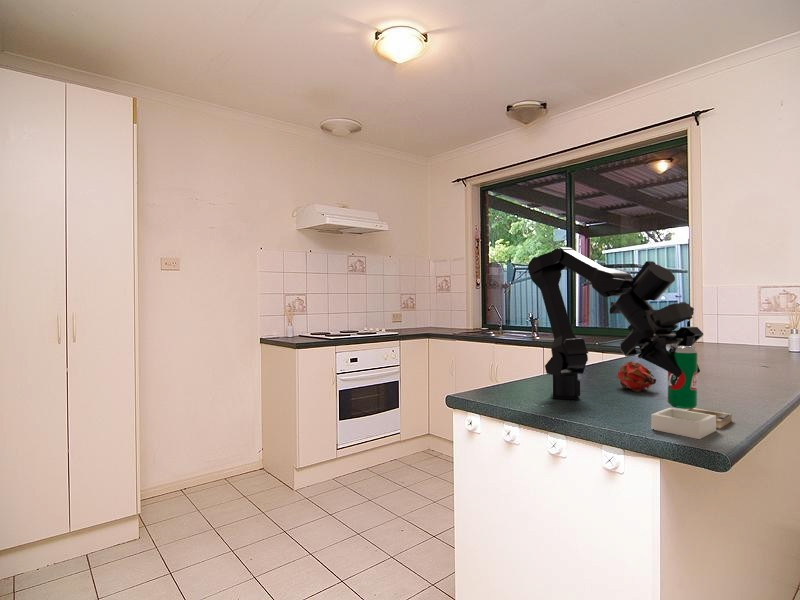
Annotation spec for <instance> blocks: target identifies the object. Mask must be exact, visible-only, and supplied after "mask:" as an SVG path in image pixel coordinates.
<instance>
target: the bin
mask: <svg viewBox="0 0 800 600" xmlns="http://www.w3.org/2000/svg"><path fill="white" fill-rule="evenodd" d="M650 415H651V417H650V418H651V421H650V422H651V423H650V425H651V426H650V427H651V430H653V429H654V430H655V431H658V432H663V433H669V434H673V435H678V436H683V437H688V438H691V439H696V440H697V439H698V440H701V439H703V438H705V437H706V436H709V435H711V434H713V433H715V432H716V431H717V428H716V420H717V419H716V415H710V414H704V413H698V412H693V411H687V410H683V409H681V408H675V407H668V408H665V409H662V410H659V411H657V412H654V413H651V414H650Z"/></svg>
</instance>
